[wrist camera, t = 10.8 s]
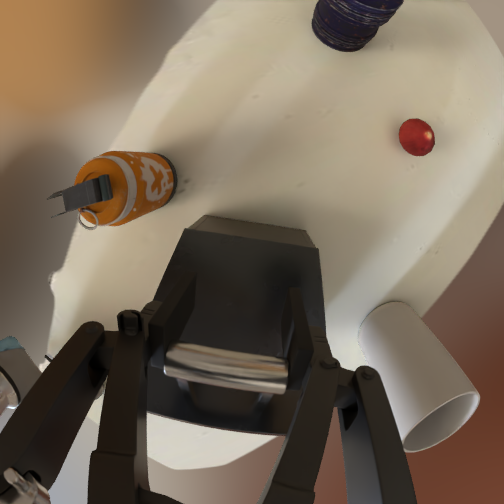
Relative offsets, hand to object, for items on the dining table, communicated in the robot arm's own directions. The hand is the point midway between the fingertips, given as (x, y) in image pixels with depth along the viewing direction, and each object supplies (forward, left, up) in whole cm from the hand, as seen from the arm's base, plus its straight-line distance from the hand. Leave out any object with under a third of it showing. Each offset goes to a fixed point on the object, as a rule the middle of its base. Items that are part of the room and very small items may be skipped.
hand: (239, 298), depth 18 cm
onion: (+22, +18, -25) cm, 38 cm away
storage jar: (+9, +35, -25) cm, 44 cm away
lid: (0, -5, -5) cm, 7 cm away
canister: (-18, +4, -25) cm, 31 cm away
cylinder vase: (+28, -16, -25) cm, 41 cm away
